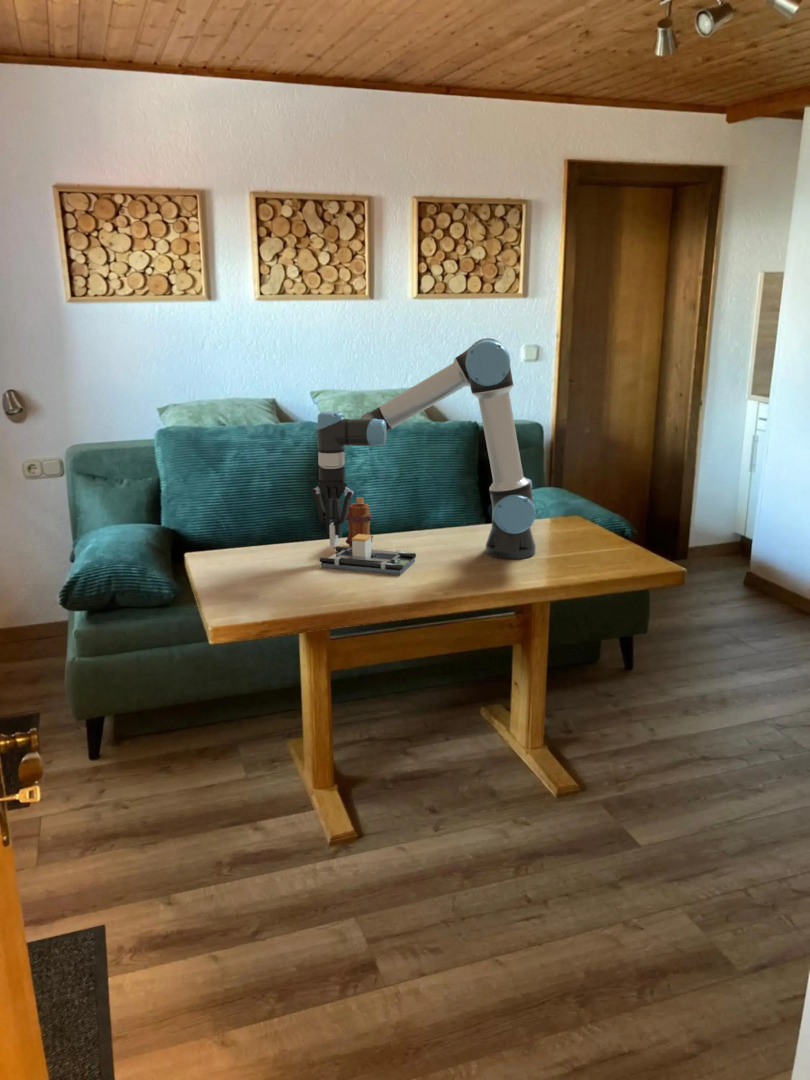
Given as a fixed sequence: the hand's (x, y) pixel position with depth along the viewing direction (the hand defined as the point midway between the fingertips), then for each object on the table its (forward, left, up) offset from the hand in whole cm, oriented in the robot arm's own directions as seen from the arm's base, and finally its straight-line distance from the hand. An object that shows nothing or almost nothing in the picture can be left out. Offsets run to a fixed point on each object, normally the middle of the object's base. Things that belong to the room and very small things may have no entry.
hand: (334, 545), depth 251 cm
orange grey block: (-9, 0, -4) cm, 9 cm away
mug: (-2, -17, -5) cm, 18 cm away
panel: (-11, 0, -5) cm, 12 cm away
